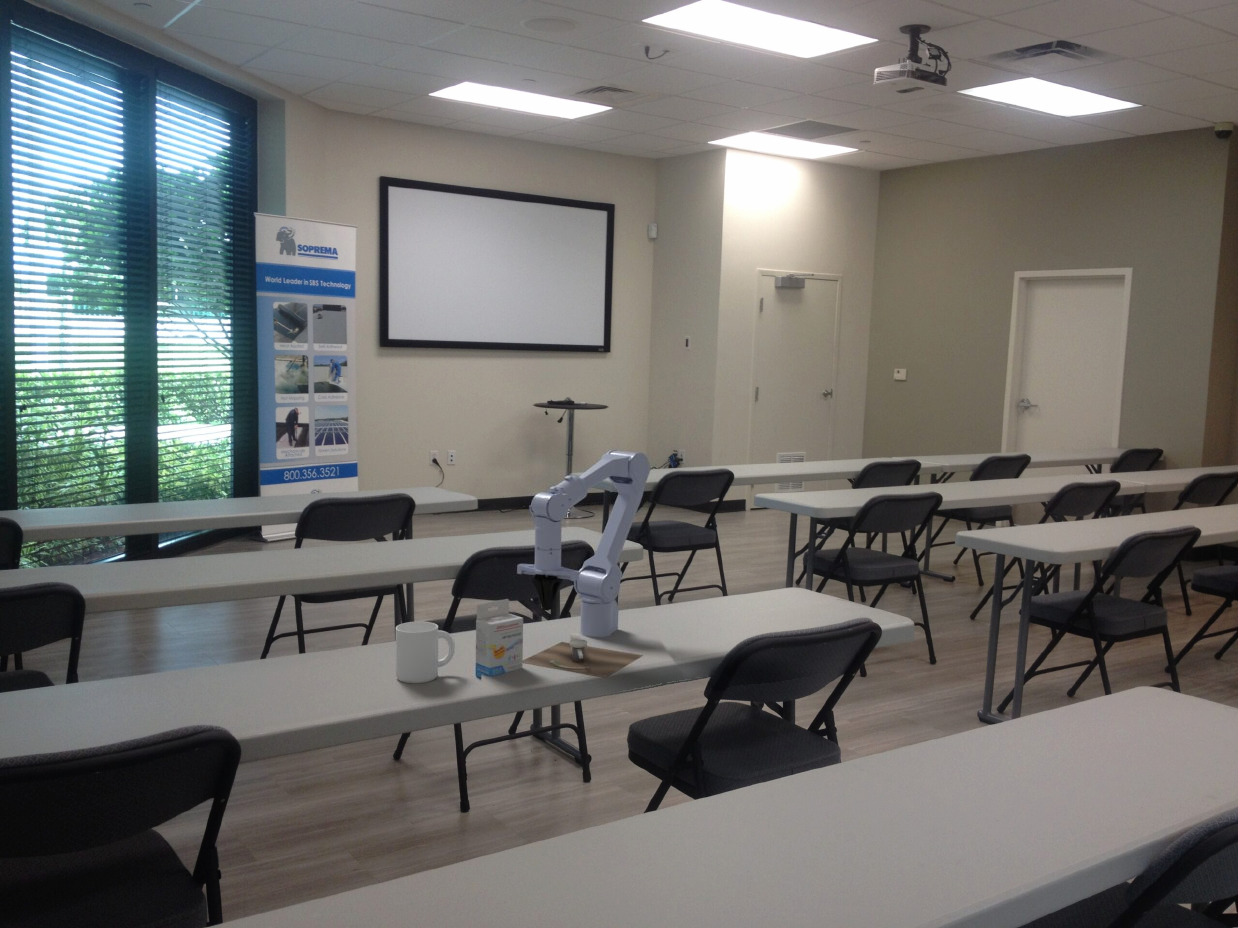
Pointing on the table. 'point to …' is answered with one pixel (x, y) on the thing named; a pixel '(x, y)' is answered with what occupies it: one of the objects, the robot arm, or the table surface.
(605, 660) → the wood grain tray mat
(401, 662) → the mug
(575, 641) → the lever
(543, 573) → the robot arm
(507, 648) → the ink box
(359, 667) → the table surface
